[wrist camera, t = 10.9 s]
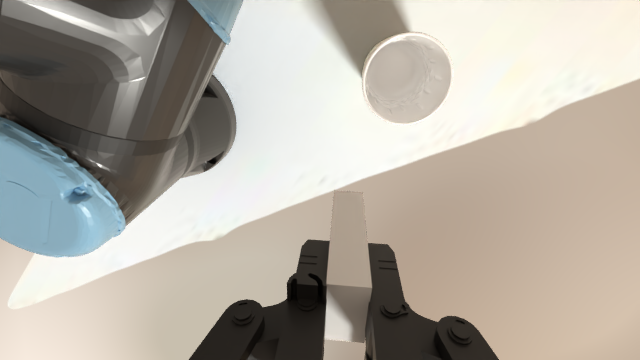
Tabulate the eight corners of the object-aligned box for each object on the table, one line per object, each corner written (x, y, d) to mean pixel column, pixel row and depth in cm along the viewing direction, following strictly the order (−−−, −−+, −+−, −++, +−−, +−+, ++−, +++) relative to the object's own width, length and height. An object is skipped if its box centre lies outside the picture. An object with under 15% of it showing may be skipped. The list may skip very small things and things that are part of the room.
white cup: (381, 18, 33) (393, 13, 24) (440, 53, 34) (473, 61, 25) (346, 84, 37) (346, 100, 28) (401, 114, 38) (418, 139, 29)
